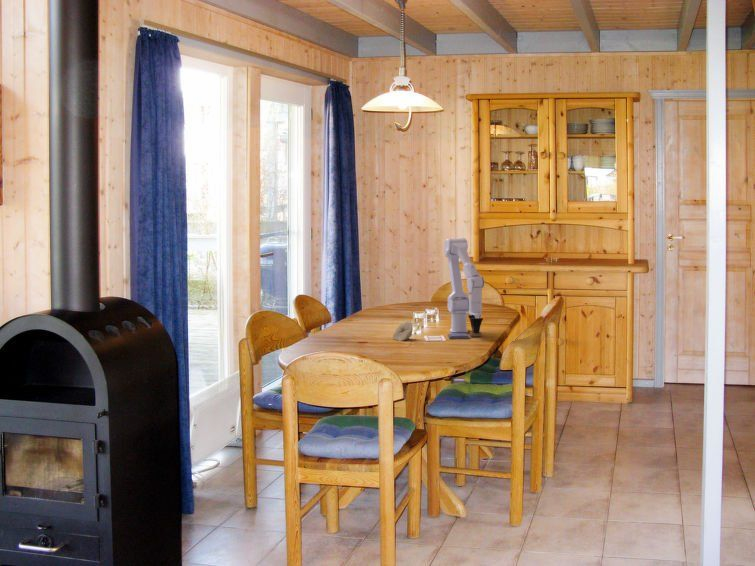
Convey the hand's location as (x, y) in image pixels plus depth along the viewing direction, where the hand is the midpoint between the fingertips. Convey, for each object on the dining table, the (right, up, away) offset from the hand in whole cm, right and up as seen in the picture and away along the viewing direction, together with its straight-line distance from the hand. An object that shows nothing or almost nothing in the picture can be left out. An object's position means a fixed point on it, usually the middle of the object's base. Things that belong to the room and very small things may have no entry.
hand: (475, 331), depth 429 cm
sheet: (-19, -3, -3) cm, 19 cm away
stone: (-33, -3, -5) cm, 34 cm away
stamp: (0, -2, 0) cm, 2 cm away
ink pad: (-8, -3, -1) cm, 8 cm away
